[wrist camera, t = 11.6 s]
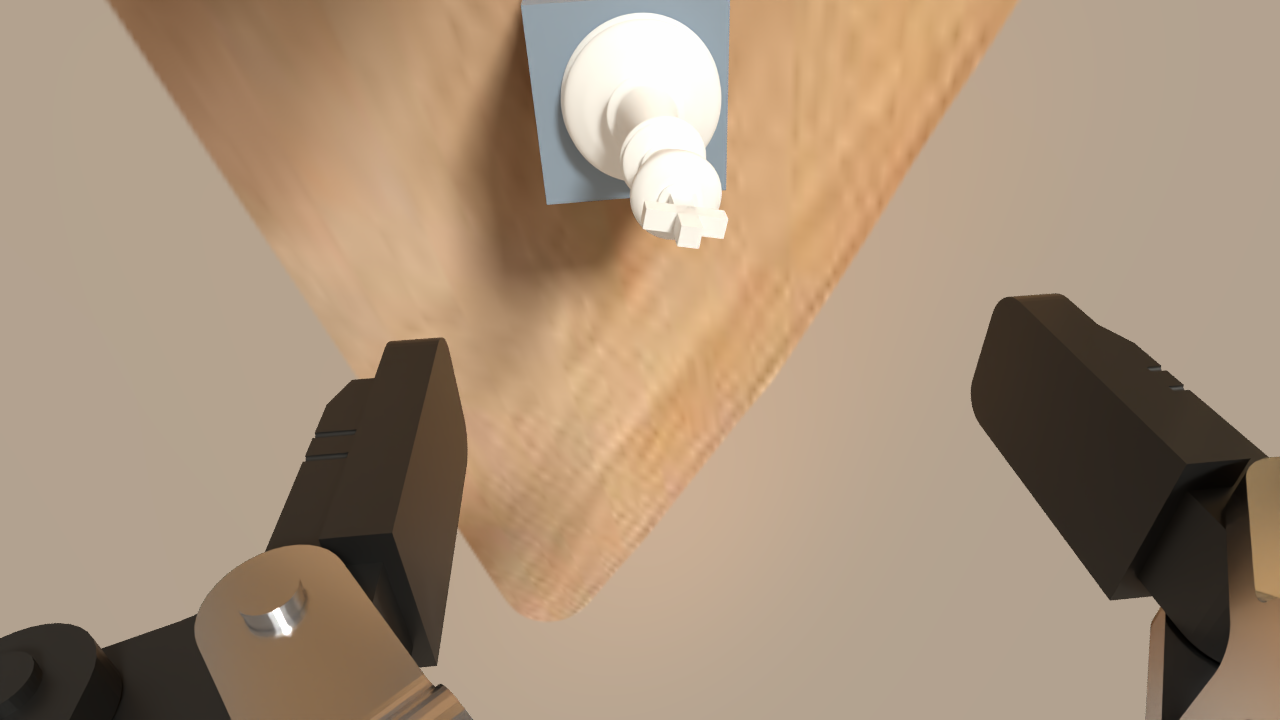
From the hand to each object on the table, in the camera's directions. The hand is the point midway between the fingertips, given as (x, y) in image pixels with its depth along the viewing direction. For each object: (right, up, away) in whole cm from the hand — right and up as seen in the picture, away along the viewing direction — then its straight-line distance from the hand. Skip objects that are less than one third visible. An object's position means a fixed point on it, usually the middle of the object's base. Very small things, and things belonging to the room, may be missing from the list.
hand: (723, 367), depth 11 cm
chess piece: (-1, +8, +12) cm, 14 cm away
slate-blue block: (-2, +11, +15) cm, 19 cm away
